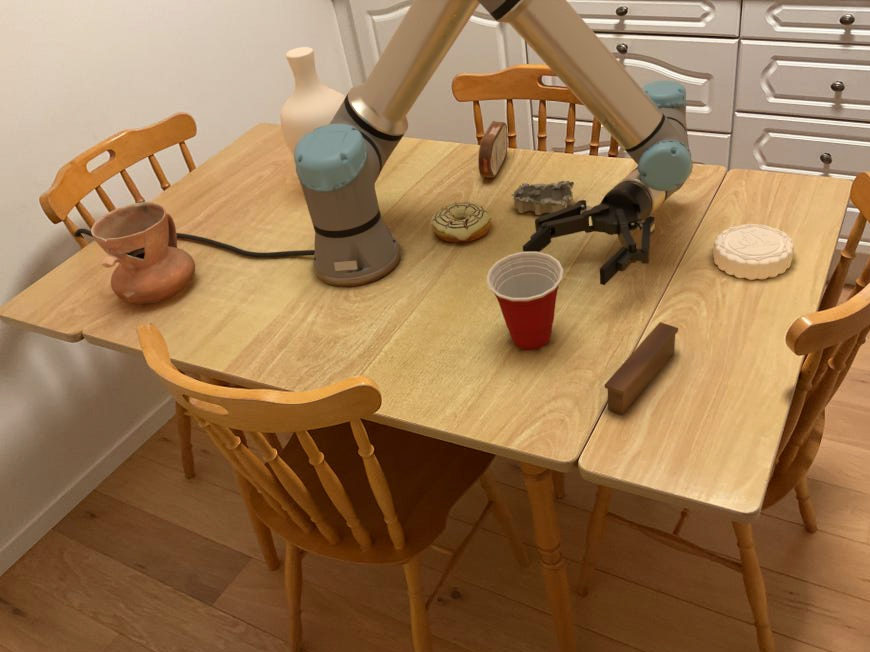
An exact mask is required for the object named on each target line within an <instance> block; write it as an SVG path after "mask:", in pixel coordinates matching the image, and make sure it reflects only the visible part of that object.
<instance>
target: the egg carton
mask: <svg viewBox="0 0 870 652" xmlns="http://www.w3.org/2000/svg"><path fill="white" fill-rule="evenodd" d="M574 186H575V183H574V181H570V180H561V181H558V183H554V182H551V183H546V184H545V183H542V182H541V183H535V184H534V183H533V184H529V183H526V182H525V183H524V182H523V183H522V185H519V187H518V188H517V189H516V190H514V191H513V193H512V194H511V196H512V197H513V203H514V205H513V206H514V209H516V210H517V212H518V213H519V214H524V213H526V212H534V215H536V216H542V215H543V214H550V213H553V212H556V211H559V210H561V209H564V208H567V207H570V206H572V205H574V198H573V197H574V195H573V191H572V190H573V188H574Z"/></svg>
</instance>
